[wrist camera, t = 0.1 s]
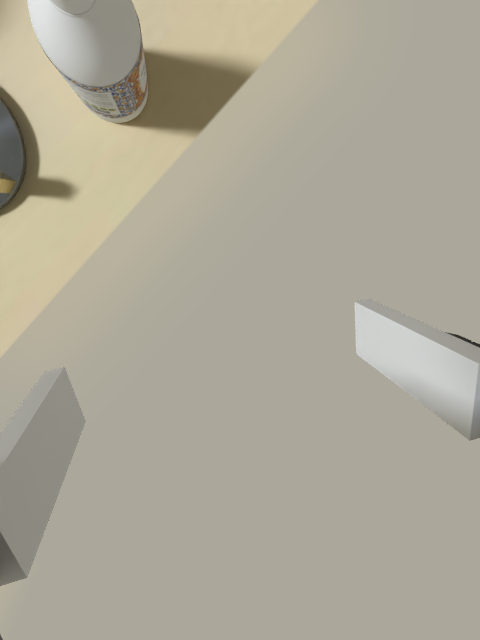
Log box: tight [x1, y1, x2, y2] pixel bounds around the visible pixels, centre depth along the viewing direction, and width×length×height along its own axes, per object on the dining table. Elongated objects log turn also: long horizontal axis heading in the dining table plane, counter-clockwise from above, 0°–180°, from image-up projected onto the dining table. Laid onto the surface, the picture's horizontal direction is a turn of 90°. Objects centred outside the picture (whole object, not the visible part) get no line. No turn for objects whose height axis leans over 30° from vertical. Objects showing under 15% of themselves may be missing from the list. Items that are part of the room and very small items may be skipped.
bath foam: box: [28, 0, 148, 123], centre depth 24 cm, size 7×7×20 cm
